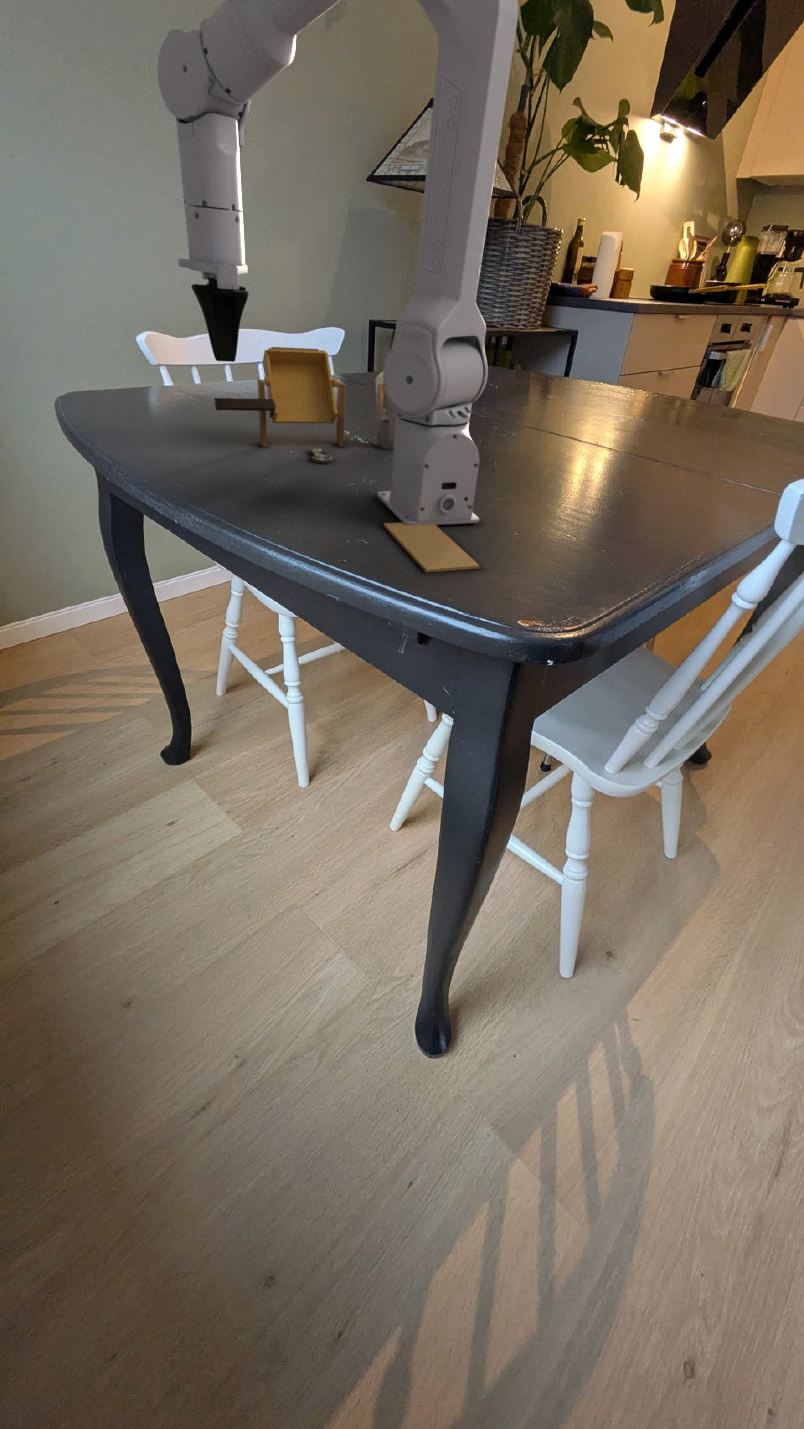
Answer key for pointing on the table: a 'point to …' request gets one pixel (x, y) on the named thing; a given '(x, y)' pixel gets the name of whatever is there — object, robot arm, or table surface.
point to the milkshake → (384, 417)
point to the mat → (431, 547)
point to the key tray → (293, 387)
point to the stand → (339, 416)
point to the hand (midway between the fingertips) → (225, 360)
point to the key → (319, 456)
